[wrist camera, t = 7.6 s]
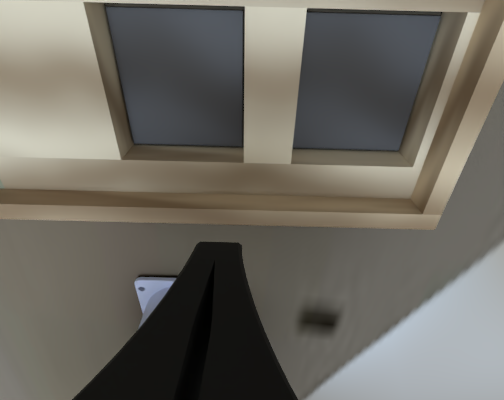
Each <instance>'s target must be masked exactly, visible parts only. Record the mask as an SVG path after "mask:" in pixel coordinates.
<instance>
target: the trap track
mask: <svg viewBox="0 0 504 400" xmlns="http://www.w3.org/2000/svg"><path fill="white" fill-rule="evenodd" d="M104 3H139V4H176V5H213V6H245V62H244V147H207V146H168V145H134V144H171V145H210V146H242V107H243V10H207V9H170V8H133V7H106V9H105V4H104ZM307 8H324V9H361V10H398V11H434V12H442V14H441V16H428V15H391V14H354V13H317V12H307ZM106 11H107V14H106ZM107 16H108V18H107ZM108 21H109V23H108ZM109 26H110V28H109ZM110 30H111V33H110ZM111 35H112V38H111ZM112 40H113V42H112ZM113 45H114V47H113ZM114 50H115V52H114ZM115 54H116V57H115ZM116 59H117V62H116ZM117 64H118V66H117ZM118 69H119V71H118ZM119 74H120V76H119ZM120 79H121V81H120ZM503 80H504V0H0V219H23V220H63V221H104V222H144V223H184V224H224V225H264V226H305V227H345V228H385V229H425V230H435V228H436V226H437V224H438V221H439V219H440V217H441V215H442V213H443V211H444V208H445V206H446V204H447V202H448V200H449V198H450V195H451V193H452V191H453V189H454V187H455V185H456V182H457V180H458V178H459V176H460V174H461V172H462V169H463V167H464V165H465V163H466V161H467V159H468V156H469V154H470V152H471V150H472V148H473V146H474V143H475V141H476V139H477V137H478V135H479V133H480V130H481V128H482V126H483V124H484V122H485V120H486V117H487V115H488V113H489V111H490V109H491V107H492V104H493V102H494V100H495V98H496V96H497V93H498V91H499V89H500V87H501V85H502V83H503ZM121 83H122V86H121ZM122 88H123V90H122ZM123 93H124V95H123ZM124 98H125V100H124ZM125 103H126V105H125ZM126 107H127V110H126ZM127 112H128V114H127ZM128 117H129V119H128ZM129 122H130V124H129ZM130 127H131V129H130ZM131 132H132V134H131ZM132 136H133V138H132ZM133 141H134V143H133ZM292 148H327V149H366V150H398V151H363V150H324V149H292Z"/></svg>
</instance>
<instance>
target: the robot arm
mask: <svg viewBox="0 0 504 400" xmlns="http://www.w3.org/2000/svg"><path fill="white" fill-rule="evenodd" d="M134 284H135V288H136V291H137V295H138V298H139V302H140V305H141V309H142V312H143V316H142V319H141V322H140V325H139V328H138V330H137V331H136V333H135V334H134V335H133V336H132V337H131V339H130V340H129V341H128V342H127V343H126V344H125V345H124V346H123V348H122V349H121V350H120V351H119V352H118V353H117V354H116V355H115V356H114V358H113V359H112V360H111V361H110V362H109V363H108V364H107V365H106V366H105V367H104V368H103V369H102V370H101V371H100V372H99V373H98V374H97V375H96V376H95V377H94V378H93V379H92V381H91V382H90V383H89V384H88V385H87V386H86V387H85V388H84V389H83V390H81V391H80V392H79V393H78V394H77V395H76V396H75V397H74V398H73V399H72V400H298V399H297V397H296V395H295V393H294V392H293V390H292V388H291V386H290V384H289V382H288V380H287V378H286V376H285V374H284V372H283V370H282V368H281V366H280V364H279V362H278V360H277V358H276V356H275V353H274V351H273V349H272V347H271V345H270V342H269V340H268V338H267V335H266V333H265V331H264V328H263V326H262V323H261V320H260V318H259V315H258V313H257V310H256V307H255V304H254V301H253V298H252V295H251V292H250V289H249V285H248V282H247V278H246V274H245V269H244V265H243V259H242V245H240V244H239V243H229V242H199V243H198V244H197V245H196V247H195V249H194V251H193V252H192V254H191V256H190V258H189V259H188V261H187V263H186V264H185V266H184V268H183V269H182V271H181V272H180V274H179V275H178V277H177V278H164V277H138V278H136V280H135V282H134Z"/></svg>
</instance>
